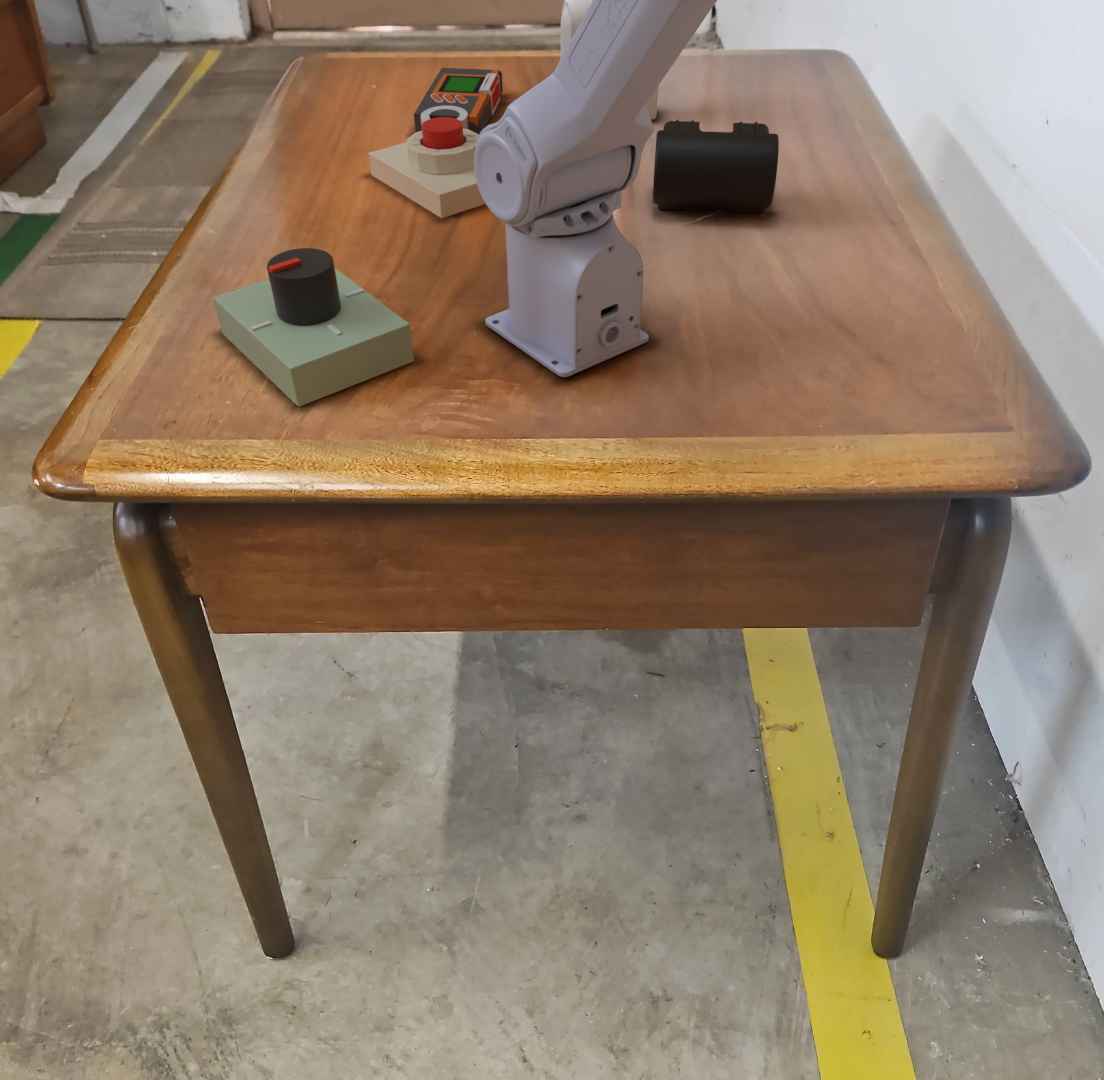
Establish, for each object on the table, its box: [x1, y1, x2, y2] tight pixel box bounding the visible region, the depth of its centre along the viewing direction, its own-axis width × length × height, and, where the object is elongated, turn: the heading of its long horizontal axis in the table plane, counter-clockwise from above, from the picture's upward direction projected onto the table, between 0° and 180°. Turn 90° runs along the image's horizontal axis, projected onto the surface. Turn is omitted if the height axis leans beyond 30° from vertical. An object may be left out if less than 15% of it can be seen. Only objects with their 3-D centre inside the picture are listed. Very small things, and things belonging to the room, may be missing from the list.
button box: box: [368, 129, 486, 219], centre depth 92 cm, size 12×9×4 cm
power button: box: [422, 117, 464, 150], centre depth 91 cm, size 4×4×2 cm
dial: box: [266, 247, 341, 325], centre depth 69 cm, size 4×4×4 cm
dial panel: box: [212, 267, 415, 407], centre depth 72 cm, size 12×9×3 cm
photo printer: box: [559, 0, 660, 121], centre depth 101 cm, size 10×4×12 cm, turn 103°
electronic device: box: [413, 67, 504, 134], centre depth 105 cm, size 7×3×15 cm
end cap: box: [652, 119, 780, 214], centre depth 87 cm, size 10×7×7 cm
